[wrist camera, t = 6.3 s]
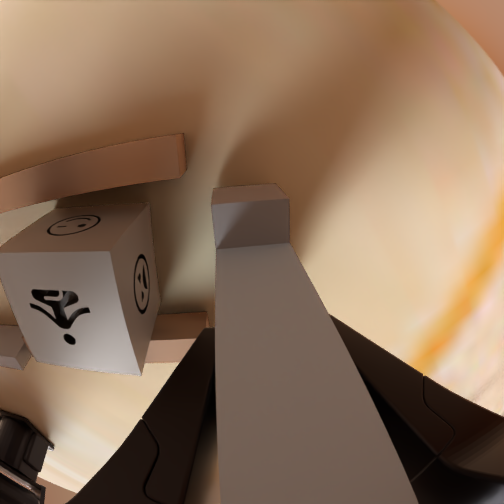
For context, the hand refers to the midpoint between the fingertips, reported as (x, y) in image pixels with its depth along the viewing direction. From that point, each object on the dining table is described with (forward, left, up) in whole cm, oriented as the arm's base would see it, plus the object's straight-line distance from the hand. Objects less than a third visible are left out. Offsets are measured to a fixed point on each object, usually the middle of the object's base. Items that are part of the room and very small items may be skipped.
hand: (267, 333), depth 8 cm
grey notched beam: (0, 0, -6) cm, 6 cm away
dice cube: (-7, 0, -6) cm, 9 cm away
